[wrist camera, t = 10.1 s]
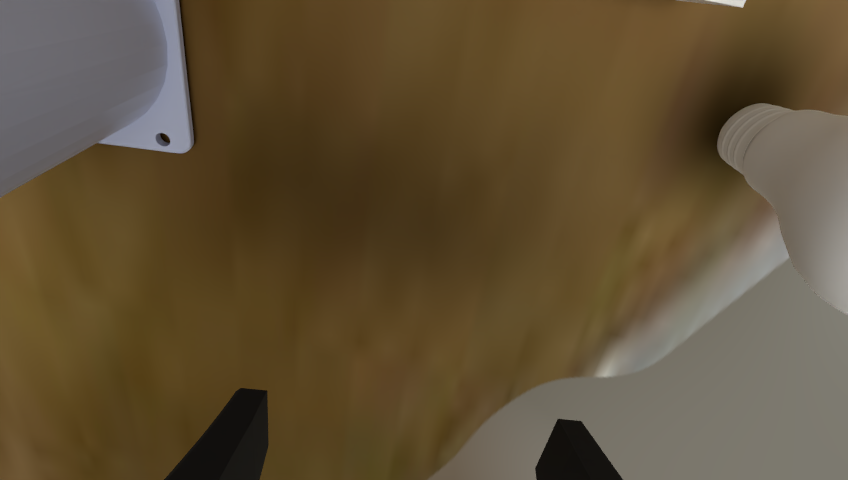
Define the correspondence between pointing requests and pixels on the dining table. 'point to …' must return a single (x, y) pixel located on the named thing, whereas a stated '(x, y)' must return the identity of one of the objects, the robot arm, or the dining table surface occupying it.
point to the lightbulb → (799, 185)
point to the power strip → (720, 2)
